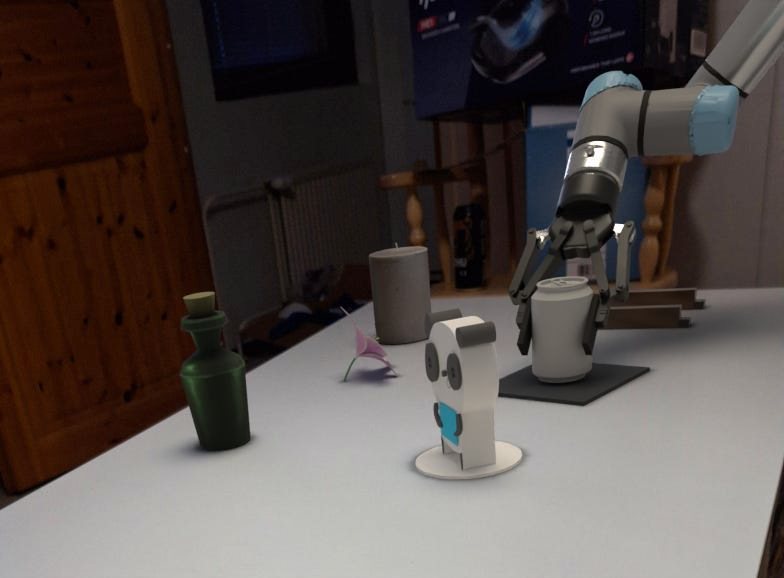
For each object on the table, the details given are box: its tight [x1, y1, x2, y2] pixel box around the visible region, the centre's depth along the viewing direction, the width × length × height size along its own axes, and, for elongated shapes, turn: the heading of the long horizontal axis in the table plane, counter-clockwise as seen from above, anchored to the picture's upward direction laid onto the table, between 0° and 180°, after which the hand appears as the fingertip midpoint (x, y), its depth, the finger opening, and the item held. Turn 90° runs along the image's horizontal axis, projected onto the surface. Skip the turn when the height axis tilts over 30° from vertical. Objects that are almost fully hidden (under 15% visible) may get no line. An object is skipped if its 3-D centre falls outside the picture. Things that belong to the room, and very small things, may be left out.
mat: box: [498, 362, 651, 407], centre depth 121 cm, size 16×16×1 cm
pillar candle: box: [368, 242, 432, 345], centre depth 153 cm, size 10×10×15 cm
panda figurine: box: [415, 307, 523, 481], centre depth 97 cm, size 12×11×15 cm
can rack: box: [593, 287, 707, 330], centre depth 147 cm, size 21×14×3 cm, turn 60°
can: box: [531, 275, 594, 383], centre depth 118 cm, size 8×8×12 cm
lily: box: [340, 306, 399, 382], centre depth 136 cm, size 12×12×10 cm
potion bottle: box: [179, 291, 251, 451], centre depth 114 cm, size 8×8×18 cm
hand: (553, 349), depth 116 cm, fingers closed on can, 7 cm apart
